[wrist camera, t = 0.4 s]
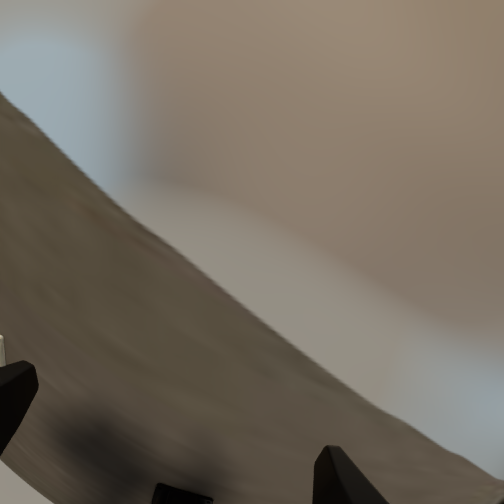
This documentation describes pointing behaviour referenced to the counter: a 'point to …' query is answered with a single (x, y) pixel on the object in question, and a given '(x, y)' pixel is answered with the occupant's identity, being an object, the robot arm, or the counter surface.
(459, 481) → the counter surface
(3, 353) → the tray
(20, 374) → the robot arm
